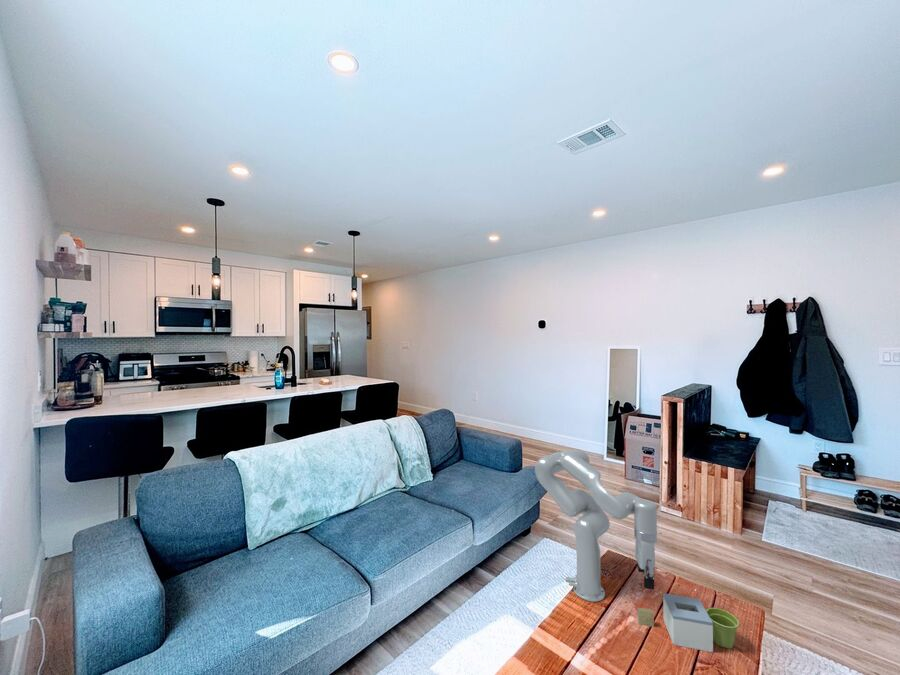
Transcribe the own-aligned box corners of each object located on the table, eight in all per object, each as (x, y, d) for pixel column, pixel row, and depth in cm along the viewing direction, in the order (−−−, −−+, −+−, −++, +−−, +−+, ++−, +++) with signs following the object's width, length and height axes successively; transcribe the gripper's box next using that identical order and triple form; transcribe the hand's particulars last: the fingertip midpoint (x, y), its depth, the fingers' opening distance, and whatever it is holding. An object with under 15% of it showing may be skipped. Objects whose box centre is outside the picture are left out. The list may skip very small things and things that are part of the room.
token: (639, 624, 138) (638, 611, 138) (637, 620, 139) (637, 607, 140) (653, 627, 136) (653, 613, 136) (652, 623, 138) (652, 609, 138)
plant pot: (700, 636, 132) (699, 612, 132) (716, 628, 136) (716, 604, 136) (728, 656, 123) (728, 630, 123) (745, 647, 127) (745, 622, 127)
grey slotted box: (673, 644, 128) (673, 615, 128) (663, 619, 140) (663, 593, 140) (713, 652, 125) (712, 622, 125) (699, 626, 137) (699, 599, 137)
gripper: (629, 522, 148) (629, 564, 147) (640, 545, 131) (640, 593, 131) (650, 524, 146) (650, 567, 146) (663, 548, 129) (663, 597, 129)
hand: (645, 579), depth 138 cm, fingers open, 9 cm apart
